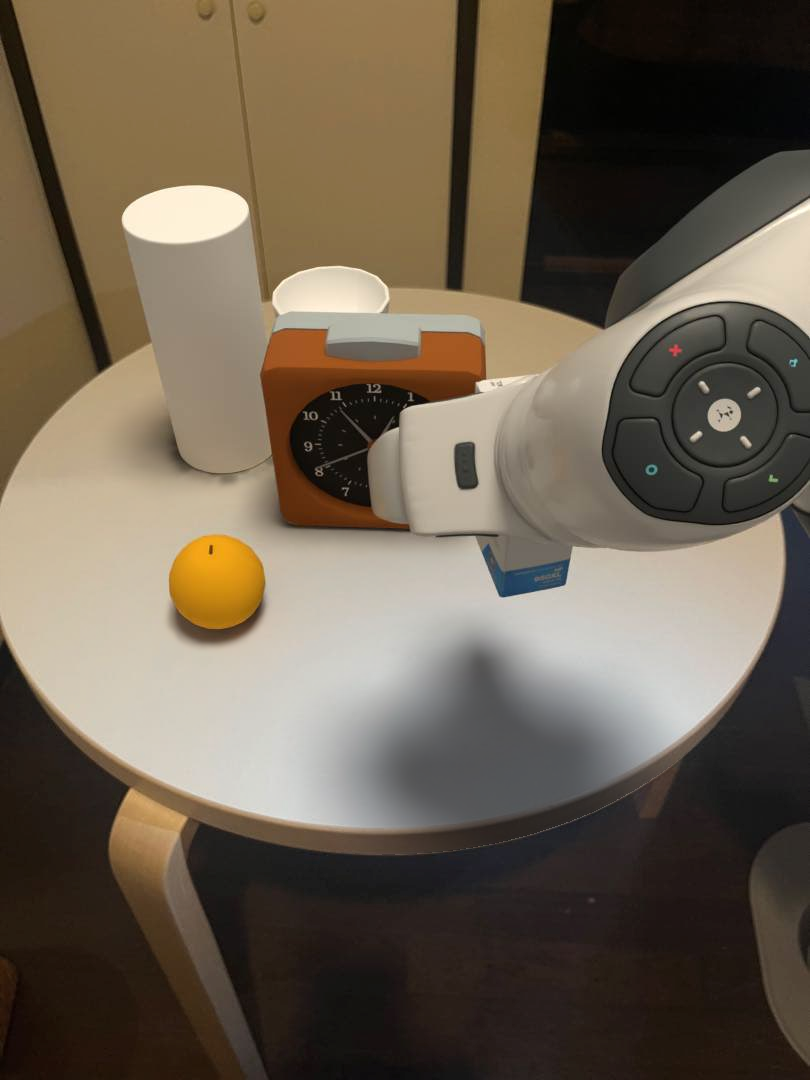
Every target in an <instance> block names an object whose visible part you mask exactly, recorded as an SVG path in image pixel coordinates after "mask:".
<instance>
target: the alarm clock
mask: <svg viewBox="0 0 810 1080" xmlns="http://www.w3.org/2000/svg"><path fill="white" fill-rule="evenodd" d="M267 344H268V347H267V351H266V355H265V358H264V362H263V366H262V369H261V373H260V378H261V385H262V391H263V397H264V404H265V410H266V417H267V424H268V431H269V438H270V445H271V452H272V455H271V457H272V463H273V464H272V465H273V471H274V476H275V482H276V489H277V496H278V502H279V511H280V514H281V517H283V519H284V520H285V522H287V523H290V524H292V525H295V526H309V527H339V528H340V527H343V528H345V527H346V528H378V529H381V528H382V529H407V530H408V529H409V530H410V528H409V524H400V523H394V522H389V521H386V520H383V519H381V518H379V517H377V516H376V515H375V514H374V513H373V510H372V505H371V497H370V488H369V477H368V462H367V456H368V452H369V450H370V448H371V447H372V445H373V444H374V443H375V442H376V440H377V439H378V438H379V437H380V436H382V435H383V434H384V433H386V432H388V431H390V430H392V429H395V428H398V427H399V418H400V413H401V411H402V410H404V409H405V408H408V407H410V406H415V405H421V404H425V403H428V402H432V401H438V400H444V399H450V398H455V397H460V396H465V395H470V394H474V393H475V386H476V382H480V381H483V380H487V361H486V360H487V356H486V331H485V329H484V327H483V324H482V322H481V321H480V320H479V319H478V318H475V317H473V316H470V315H469V314H440V313H439V314H437V313H434V314H433V313H432V314H431V313H391V312H388V313H345V312H296V311H290V312H288V313H285V314H282V315H280V316H278V317H277V319H276V318H275V320H274V323H273V326H272V329H271V333H270V336H269V340H268V343H267Z"/></svg>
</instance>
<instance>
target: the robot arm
mask: <svg viewBox="0 0 810 1080" xmlns="http://www.w3.org/2000/svg"><path fill="white" fill-rule="evenodd" d="M612 293H613V294H612V295H611V298H610V300H609V301H610V302H609V304H608V308H607V310H606V311H607V312H606V316H605V321H604V329H603V330H601V331H600V332H598V333H596V334H595V335H592V336H591V337H590V338H588V339H586V340H584V341H583V342H581V343H579V344H578V345H577V346H576V347H575V348H573V349H571V350H570V351H569V352H567V353H566V354H565V355H564V356H562V357H561V359H560V360H558V361H557V362H556V363H555V364H554V365H551V366H550V367H548V368H547V369H545V370H544V371H543V372H541V373H539V374H540V375H538V376H537V375H535V374H536V373H535V374H534V373H532V374H527V375H528V376H525V375H524V376H525V377H523V378H521V379H518V380H516V381H514V382H511V383H509V384H507V385H504V386H501V387H499V388H496V389H493V390H490V391H487V392H479V393H474V394H470V395H465V396H460V397H455V398H450V399H444V400H438V401H432V402H428V403H425V404H421V405H415V406H410V407H408V408H405V409H404V410H402V411H401V413H400V418H399V427H398V428H395V429H392V430H390V431H388V432H386V433H384V434H383V435H382V436H380V437H379V438H378V439H377V440H376V442H375V443H374V444H373V445H372V447H371V448H370V450H369V452H368V456H367V462H368V477H369V488H370V497H371V505H372V510H373V513H374V514H375V515H376V516H377V517H379V518H381V519H383V520H386V521H389V522H394V523H400V524H409V528H410V529H409V531H410V534H411V535H413V536H415V537H418V538H424V537H425V538H426V537H435V538H451V537H452V538H453V537H454V538H455V537H475V536H487V537H498V536H499V535H500V536H506V537H511V538H516V539H520V540H524V541H529V542H533V543H539V544H549V543H551V544H555V545H562V546H573V547H574V548H575V547H576V548H586V549H587V548H589V549H612V550H618V551H626V552H637V553H638V552H639V553H640V552H641V553H642V552H643V553H646V552H648V553H650V552H653V553H654V552H657V553H658V552H668V551H677V550H678V551H679V550H685V549H689V548H694V547H699V546H702V545H703V546H704V545H707V544H711V543H714V542H717V541H721V540H723V539H727V538H730V537H732V536H736V535H738V534H741V533H742V532H746V531H748V530H751V529H753V528H754V527H756V526H758V525H760V524H762V523H765V522H767V521H768V520H770V519H771V518H773V517H774V516H776V515H778V514H779V513H781V512H783V511H784V510H785V509H787V508H788V507H790V508H791V510H792V511H793V513H794V515H795V516H796V518H797V519H798V521H799V523H800V525H801V526H802V528H803V530H804V531H805V533H806V535H807V536H808V538H809V539H810V149H799V150H787V151H779V152H776V153H774V154H771V155H769V156H766V157H765V158H763V159H761V160H760V161H758V162H755V164H752V165H751V166H750V167H748V168H747V169H745V170H743V171H742V172H740V173H738V175H736V176H734V177H733V178H731V179H730V180H729V181H727V182H725V183H724V184H723V185H722V186H720V187H719V188H717V189H716V190H715V191H713V192H712V193H711V194H710V195H709V196H707V197H706V198H704V199H703V200H702V201H701V202H700V203H699V204H697V205H696V206H695V207H694V208H692V209H691V210H690V211H689V212H688V213H686V214H685V216H683V217H682V218H681V219H680V220H679V221H678V222H677V223H676V224H674V225H673V226H672V227H671V228H670V229H669V230H668V231H667V232H666V233H665V234H664V235H663V236H662V237H661V238H659V240H658V241H656V242H655V243H654V244H653V245H651V246H650V247H649V248H648V249H647V250H646V251H644V252H643V253H642V254H641V255H639V256H638V257H637V258H636V259H635V260H634V261H633V262H632V263H631V264H630V265H629V266H628V267H627V268H626V269H625V270H624V271H623V272H622V273H621V274H620V275H619V276H618V280H617V282H616V284H615V287H614V289H613V292H612Z"/></svg>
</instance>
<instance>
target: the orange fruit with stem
mask: <svg viewBox="0 0 810 1080" xmlns="http://www.w3.org/2000/svg"><path fill="white" fill-rule="evenodd" d="M168 588H169V589H168V591H169V596H170V598H171V601H172V603H173V604H174V605H175V607H176V609H177V611H178V612H179V614H180V615H181V616H182V617H184V618H185V619H186V620H188V621H189V622H191V623H192V624H193V625H196V626H199V627H201V628H203V629H208V630H223V629H229V628H232V627H234V626H236V625H239V624H242V623H243V622H245V621H247V619H249V618H250V617H251V616H252V615H254V613H255V611H256V610H257V608H258V607H259V606H260V604H261V602H262V600H263V598H264V597H263V596H264V592H265V589H266V576H265V569H264V565H263V563H262V560H261V559H260V558H259V556H258V555H257V554H256V553H255V551H254V549H252V547H251V546H249V545H248V544H247V543H245V542H243V541H242V540H240V539H239V538H236V537H232V536H229V535H226V534H215V533H214V534H208V535H203V536H200V537H198V538H195V539H193V540H191V541H190V542H189V543H188V544H186V545H185V546H183V548H181V550H180V551H179V552H178V554H177V555H176V556H175V558H174V559H173V562H172V565H171V567H170V571H169V574H168Z"/></svg>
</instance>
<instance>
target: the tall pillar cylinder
mask: <svg viewBox="0 0 810 1080" xmlns="http://www.w3.org/2000/svg"><path fill="white" fill-rule="evenodd" d="M121 225H122V226H121V227H122V230H123V233H124V238H125V242H126V245H127V250H128V254H129V257H130V263H131V266H132V269H133V274H134V277H135V282H136V286H137V290H138V294H139V297H140V303H141V305H142V309H143V314H144V318H145V321H146V325H147V330H148V333H149V338H150V341H151V346H152V351H153V354H154V358H155V361H156V362H155V363H156V366H157V369H158V375H159V377H160V382H161V386H162V390H163V393H164V398H165V402H166V407H167V410H168V414H169V417H170V418H169V419H170V421H171V426H172V430H173V433H174V437H175V441H176V445H177V449H178V453H179V455H180V457H181V458H182V460H184V462H185V463H187V464H188V465H189V466H191V467H193V468H194V469H197V470H199V471H202V472H206V473H209V474H210V473H212V474H233V473H238V472H243V471H246V470H250V469H252V468H254V467H257V466H259V465H260V464H262V463H264V462H265V461H266V460H268V459H269V458H270V457H272V452H271V445H270V438H269V431H268V424H267V417H266V410H265V404H264V397H263V391H262V385H261V378H260V373H261V369H262V366H263V362H264V358H265V355H266V351H267V347H268V344H269V343H268V337H267V329H266V323H265V316H264V315H265V314H264V308H263V302H262V301H263V300H262V294H261V286H260V279H259V272H258V264H257V258H256V250H255V243H254V234H253V228H252V220H251V213H250V207H249V204H248V202H247V201H246V199H245V198H244V197H242V196H241V195H240V194H238V193H236V192H234V191H232V190H229V189H226V188H223V187H219V186H211V185H202V184H201V185H199V184H198V185H195V184H193V185H192V184H191V185H180V186H173V187H167V188H162V189H158V190H156V191H152V192H150V193H147V194H145V195H143V196H141V197H139V198H137V199H135V200H134V201H133V202H131V203H130V204H129V205H128V206H127V207H126V208H125V210H124V211H123V213H122V215H121Z"/></svg>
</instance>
